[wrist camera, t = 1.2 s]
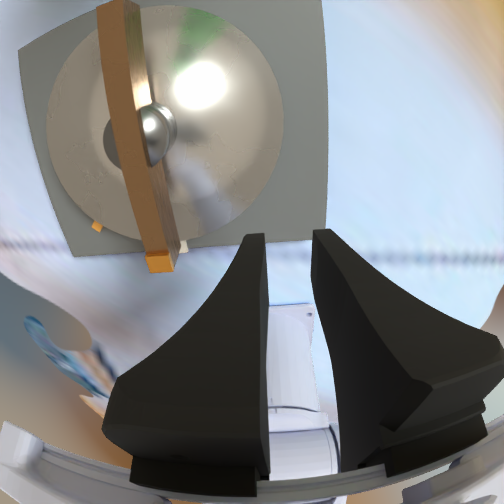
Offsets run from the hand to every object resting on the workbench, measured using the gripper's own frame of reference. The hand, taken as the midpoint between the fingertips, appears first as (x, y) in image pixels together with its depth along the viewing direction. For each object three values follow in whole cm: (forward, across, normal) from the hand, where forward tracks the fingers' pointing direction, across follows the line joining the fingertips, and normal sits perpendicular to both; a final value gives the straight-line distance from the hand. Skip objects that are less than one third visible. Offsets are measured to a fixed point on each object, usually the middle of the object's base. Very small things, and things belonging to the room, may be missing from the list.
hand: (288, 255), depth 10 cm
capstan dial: (+7, +6, -4) cm, 10 cm away
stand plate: (+8, +6, -4) cm, 11 cm away
